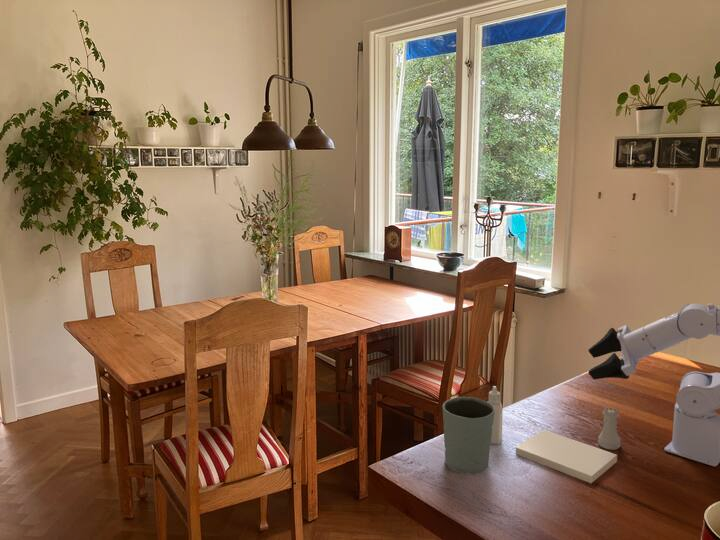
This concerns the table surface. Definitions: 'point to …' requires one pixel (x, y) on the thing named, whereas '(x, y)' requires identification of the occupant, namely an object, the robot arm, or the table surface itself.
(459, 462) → the green cup
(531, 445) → the cream tile
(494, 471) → the table surface
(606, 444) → the rook chess piece
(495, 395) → the eye dropper bottle
